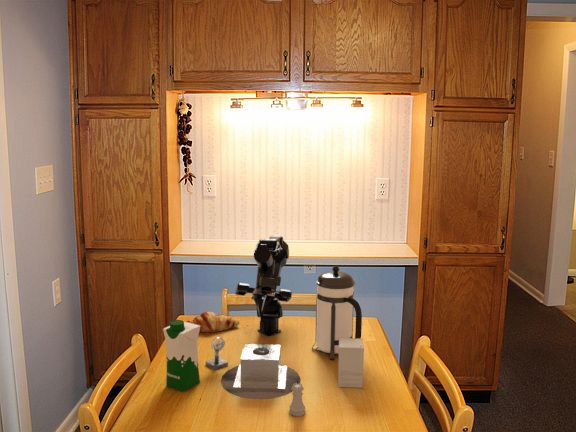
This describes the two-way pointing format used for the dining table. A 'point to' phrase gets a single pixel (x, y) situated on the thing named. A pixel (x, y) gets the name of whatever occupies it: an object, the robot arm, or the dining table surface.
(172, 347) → the milk carton
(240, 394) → the platter
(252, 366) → the cover
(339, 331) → the coffee press
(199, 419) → the dining table surface
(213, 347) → the rubber stamp
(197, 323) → the croissant
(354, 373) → the supplement box
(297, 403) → the rook chess piece
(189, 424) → the dining table surface
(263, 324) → the robot arm
